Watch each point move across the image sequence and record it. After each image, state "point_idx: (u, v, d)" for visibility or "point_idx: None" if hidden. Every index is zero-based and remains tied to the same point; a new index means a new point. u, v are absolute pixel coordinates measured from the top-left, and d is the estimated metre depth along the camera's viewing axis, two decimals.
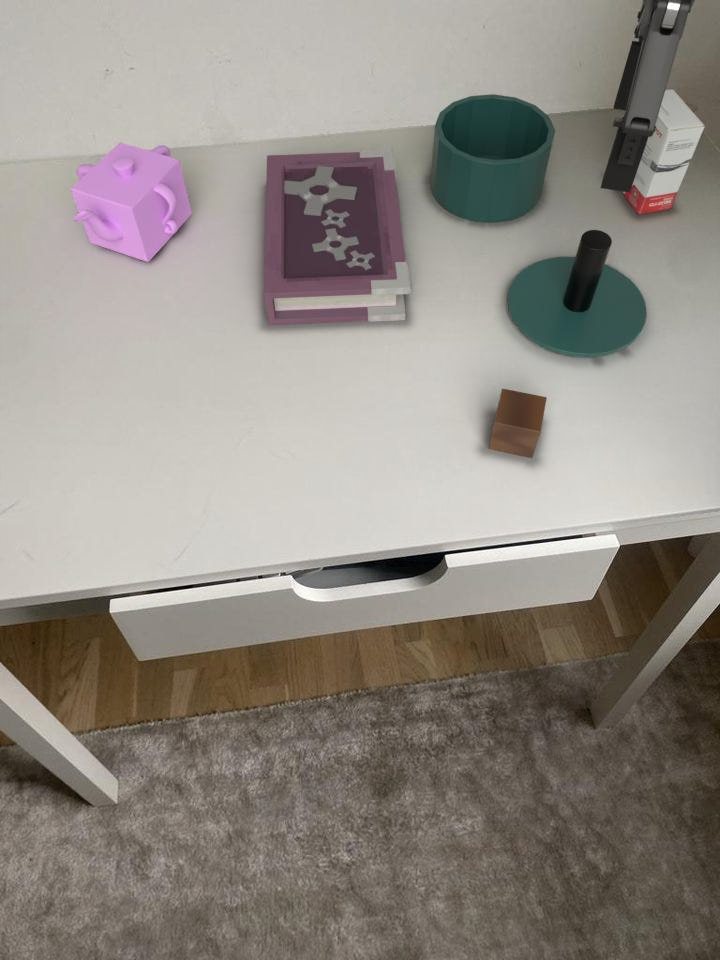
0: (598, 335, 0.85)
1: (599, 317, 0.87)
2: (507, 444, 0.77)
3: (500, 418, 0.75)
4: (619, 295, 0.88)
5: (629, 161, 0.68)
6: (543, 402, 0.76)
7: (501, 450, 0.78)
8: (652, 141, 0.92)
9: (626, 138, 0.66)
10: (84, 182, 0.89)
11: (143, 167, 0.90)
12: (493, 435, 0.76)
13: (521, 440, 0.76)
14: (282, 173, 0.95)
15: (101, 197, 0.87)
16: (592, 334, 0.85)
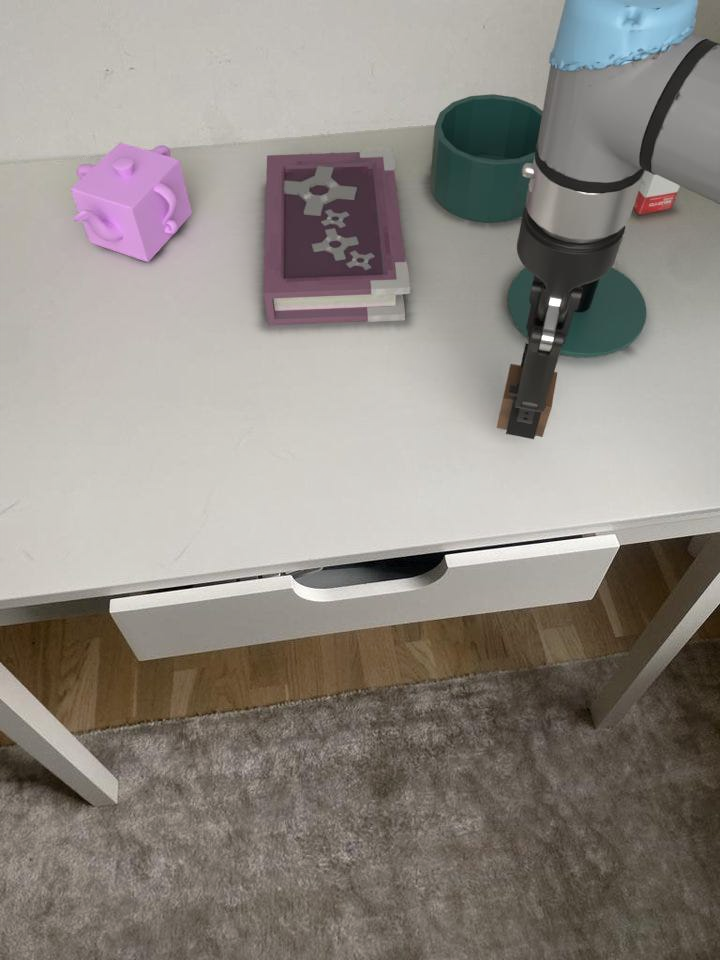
0: (598, 335, 0.85)
1: (599, 317, 0.87)
2: None
3: None
4: (619, 295, 0.88)
5: (527, 421, 0.70)
6: (554, 377, 0.72)
7: None
8: None
9: None
10: (84, 182, 0.89)
11: (143, 167, 0.90)
12: (501, 412, 0.73)
13: None
14: (282, 173, 0.95)
15: (101, 197, 0.87)
16: (592, 334, 0.85)
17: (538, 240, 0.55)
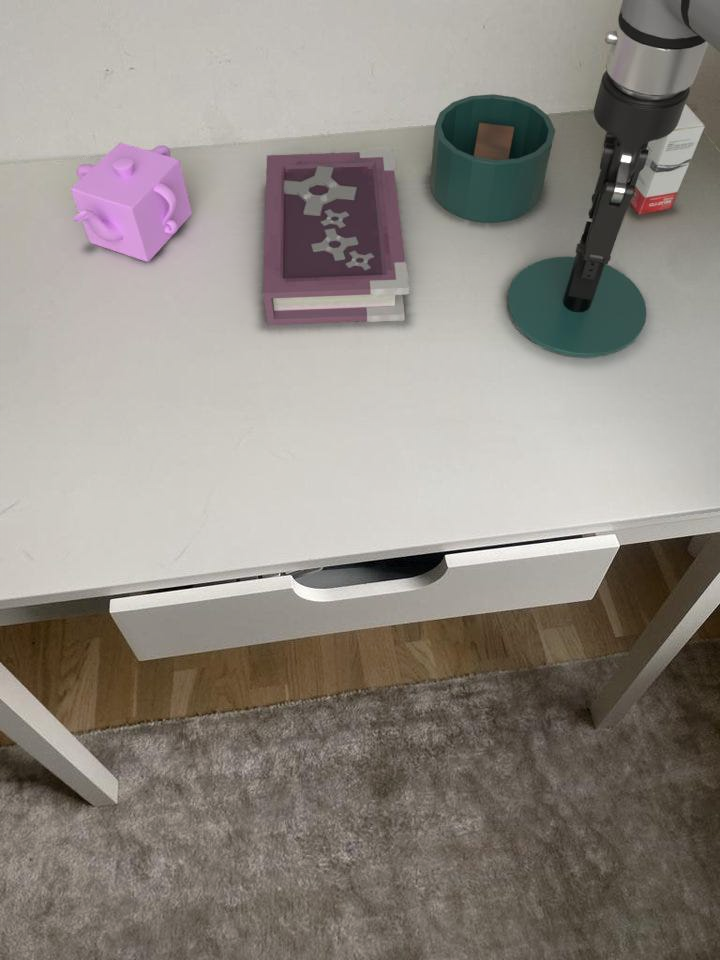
0: (598, 335, 0.85)
1: (599, 317, 0.87)
2: (488, 148, 0.98)
3: None
4: (619, 295, 0.88)
5: (590, 278, 0.80)
6: None
7: (483, 157, 0.98)
8: (652, 141, 0.92)
9: (587, 262, 0.79)
10: (84, 182, 0.89)
11: (143, 167, 0.90)
12: (477, 138, 0.98)
13: (499, 141, 0.98)
14: (282, 173, 0.95)
15: (101, 197, 0.87)
16: (592, 334, 0.85)
17: (617, 98, 0.65)
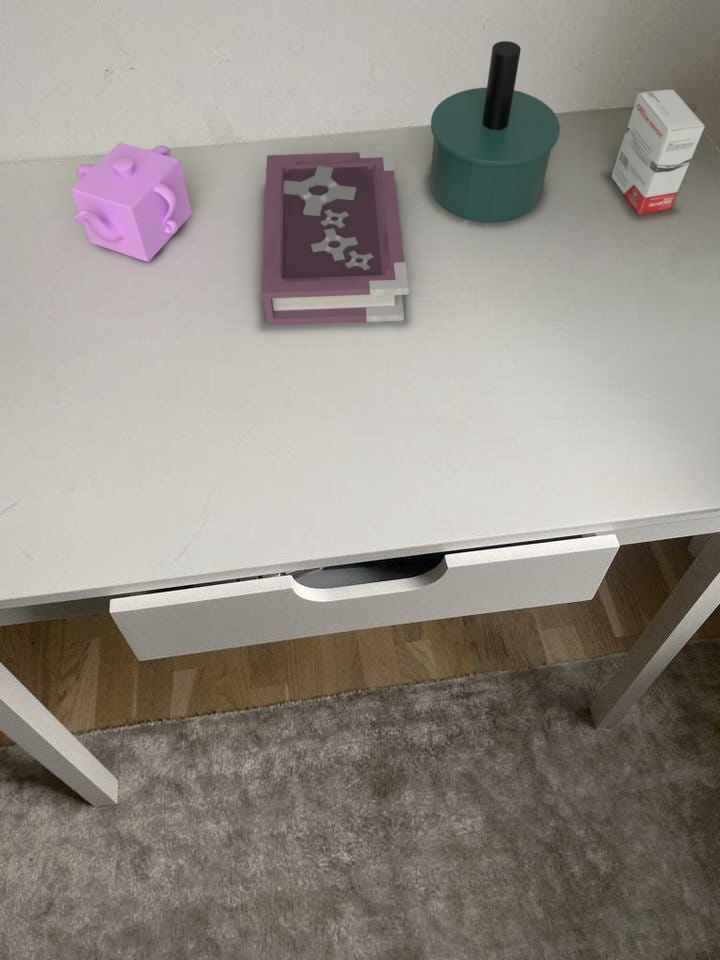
0: (513, 147, 0.91)
1: (515, 134, 0.93)
2: None
3: None
4: (535, 117, 0.94)
5: None
6: None
7: None
8: (652, 141, 0.92)
9: None
10: (84, 182, 0.89)
11: (143, 167, 0.90)
12: None
13: None
14: (282, 173, 0.95)
15: (101, 197, 0.87)
16: (507, 147, 0.91)
17: None
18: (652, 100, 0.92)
